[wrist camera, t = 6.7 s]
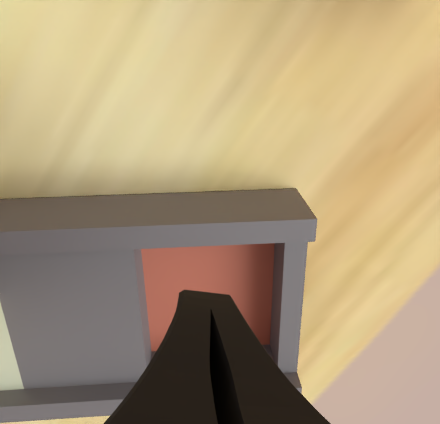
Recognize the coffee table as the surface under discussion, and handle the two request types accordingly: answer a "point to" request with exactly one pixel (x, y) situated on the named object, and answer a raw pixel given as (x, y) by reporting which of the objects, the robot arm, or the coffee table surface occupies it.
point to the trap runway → (136, 287)
